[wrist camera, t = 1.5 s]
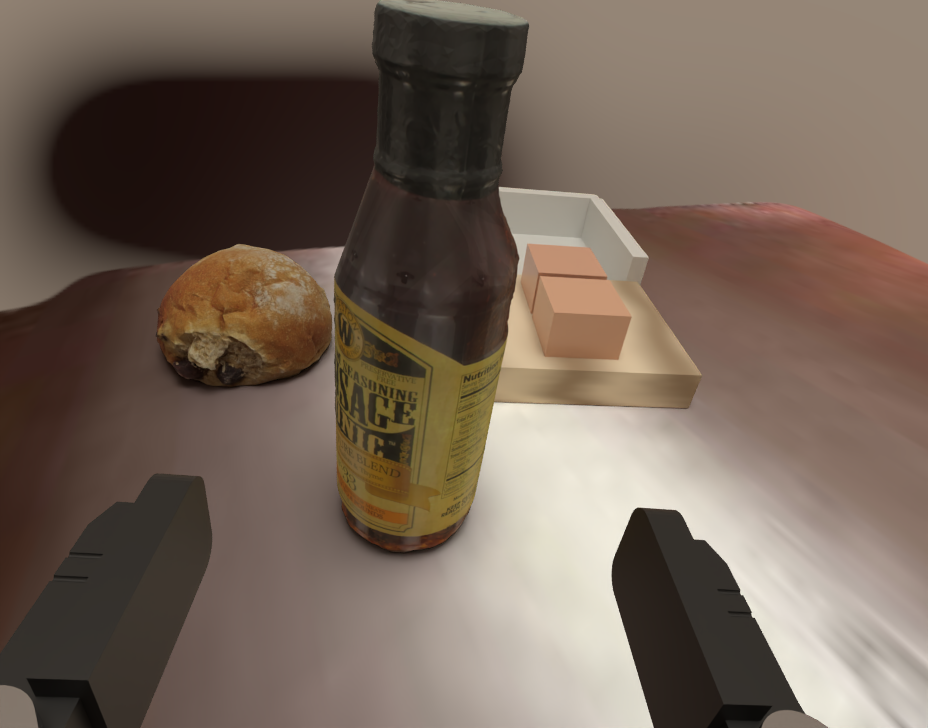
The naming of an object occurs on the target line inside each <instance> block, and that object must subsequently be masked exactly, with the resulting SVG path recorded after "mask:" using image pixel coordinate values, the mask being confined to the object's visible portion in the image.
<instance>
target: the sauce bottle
mask: <svg viewBox="0 0 928 728" xmlns="http://www.w3.org/2000/svg"><path fill="white" fill-rule="evenodd" d="M528 29H529V24H528V22H527V21H526V20H525V19H524V18H521V17H519V16H516V15H513V14H510V13H507V12H505V11H501V10H494V9H489V8H484V7H479V6H474V5H468V4H462V3H452V2H448V1H437V0H380V1H379V3H378V4H377V5H376V8H375V21H374V30H373V42H372V51H373V56H374V59H375V63H376V64H377V66H378V69H379V99H378V110H377V112H378V126H377V146H376V148H375V150H374V157H373V159H374V163H375V165H374V168H373V171H372V173H371V176H370V179H369V182H368V185H367V187H366V190H365V193H364V195H363V198H362V201H361V204H360V207H359V209H358V212H357V215H356V217H355V220H354V223H353V226H352V229H351V231H350V234H349V237H348V239H347V242H346V245H345V248H344V250H343V253H342V256H341V259H340V261H339V264H338V267H337V270H336V272H335V276H334V303H335V316H334V322H335V361H334V364H335V387H336V390H335V394H336V396H335V412H336V451H337V486H338V491H339V494H340V497H341V499H342V510H343V512H344V514H345V517H346V518H347V521H348V524H349V526H350V527H352V528H353V529H354V530H355V531H356V532H357V533H358V534H359V535H361V536H362V537H363V538H364V539H367V540H368V541H370V542H371V543H372V544H376V545H379V546H380V547H381V548H383V549H386V550H389V551H394V552H402V553H403V552H407V551H411V550H421V549H425V548H431V547H434V546H436V545H438V544H441V543H443V542H444V541H445V540H447V539H448V538H449V537H450V536H451V535H452V534H453V533H455V532H456V530H457V529H458V528H459V527H460V526H461V524H462V522H463V521H464V519H465V517H466V515H467V514H468V513H469V510H470V507H471V504H472V502H473V499H474V496H475V492H476V487H477V482H478V478H479V473H480V468H481V464H482V459H483V454H484V450H485V444H486V439H487V434H488V429H489V424H490V419H491V414H492V409H493V404H494V399H495V395H496V390H497V385H498V380H499V375H500V371H501V366H502V361H503V356H504V352H505V347H506V342H507V337H508V319H509V313H510V305H511V300H512V299H513V294H514V292H515V285H516V278H517V270H518V262H519V255H518V251H517V246H516V243H515V240H514V237H513V235H512V233H511V231H510V227H509V225H508V223H507V219H506V217H505V216H504V213H503V210H502V206H501V199H500V196H499V187H498V183H499V182H498V181H499V177H500V176H501V174H502V171H503V170H502V162H501V155H502V146H503V141H504V140H503V139H504V134H505V127H506V121H507V114H508V108H509V103H510V96H511V90H512V87H513V85H514V84H515V83H516V81H517V79H518V77H519V75H520V74H521V73H522V68H523V63H524V58H525V51H526V43H527V34H528Z"/></svg>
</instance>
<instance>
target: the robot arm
mask: <svg viewBox="0 0 928 728" xmlns="http://www.w3.org/2000/svg"><path fill="white" fill-rule="evenodd" d="M211 548H212V530H211V523H210V517H209V510H208V504H207V497H206V491H205V485H204V481H203V479H202V477H200V476H187V475H172V474H154V475H153V476H152V477H151V478H150V479H149V480H148V482H147V483H146V485H145V486H144V488H143V490H142V491H141V493H140V495H139V496H138V498H137V499H136V501H135V503H128V502H116V503H115V504H114V505H112V506H111V507H110V508H109V509H107V510H106V511H105V512H103V513H102V514H101V515H100V516H98V517H97V518H96V519H95V520H93V521H92V522H91V523H89V524H88V526H87V527H86V529H85V530H84V531H83V533H82V534H81V536H80V537H79V539H78V540H77V542H76V543H75V545H74V546H73V548H72V549H71V551H70V554H69V557H68V558H65V559H64V561H63V562H62V564H61V565H60V567H59V568H58V570H57V571H56V573H55V574H54V579H53V581H49V583H48V584H47V586H46V587H45V589H44V590H43V592H42V593H41V595H40V596H39V598H38V599H37V601H36V602H35V603H34V605H33V606H32V608H31V609H30V611H29V612H28V614H27V615H26V617H25V618H24V620H23V621H22V623H21V624H20V625H19V627H18V628H17V630H16V631H15V633H14V634H13V636H12V637H11V639H10V640H9V642H8V643H7V645H6V646H5V648H4V649H3V650H2V652H1V653H0V728H140V727H141V725H142V722H143V720H144V717H145V715H146V713H147V710H148V708H149V705H150V703H151V701H152V698H153V696H154V693H155V691H156V689H157V686H158V684H159V681H160V679H161V677H162V674H163V672H164V669H165V667H166V665H167V662H168V660H169V657H170V655H171V653H172V650H173V648H174V645H175V643H176V641H177V638H178V636H179V633H180V631H181V629H182V626H183V624H184V621H185V619H186V617H187V614H188V612H189V609H190V607H191V605H192V602H193V600H194V597H195V595H196V593H197V590H198V588H199V585H200V583H201V581H202V578H203V576H204V573H205V571H206V568H207V565H208V562H209V558H210V554H211ZM612 586H613V591H614V595H615V598H616V602H617V605H618V608H619V612H620V615H621V618H622V622H623V625H624V628H625V632H626V635H627V639H628V642H629V645H630V649H631V652H632V655H633V659H634V662H635V666H636V669H637V672H638V676H639V679H640V682H641V686H642V689H643V693H644V696H645V699H646V703H647V706H648V709H649V713H650V716H651V719H652V723H653V726H654V728H828V727H827V726H825V725H824V724H822V723H821V722H819V721H818V720H816V719H814V718H812V717H810V716H808V715H806V714H805V713H804V711H803V710H802V708H801V706H800V704H799V703H798V701H797V699H796V697H795V695H794V693H793V691H792V689H791V687H790V685H789V684H788V682H787V680H786V678H785V676H784V674H783V672H782V670H781V668H780V666H779V664H778V662H777V660H776V658H775V656H774V654H773V652H772V651H771V649H770V647H769V645H768V643H767V641H766V639H765V637H764V635H763V633H762V631H761V629H760V627H759V625H758V623H757V621H756V619H755V618H752V616H751V613H752V612H751V610H750V608H749V606H748V604H747V602H746V600H745V598H744V596H743V595H741V594H740V588H739V586H738V585H737V583H736V581H735V579H734V577H733V575H732V573H731V571H730V569H729V567H728V565H727V563H726V562H725V561H724V560H723V559H722V558H721V557H720V556H719V555H718V554H717V553H716V552H715V551H714V550H713V549H712V548H711V546H710V545H709V544H708V543H707V542H706V541H705V540H694V539H693V537H692V535H691V533H690V531H689V529H688V527H687V525H686V522H685V520H684V518H683V517H682V515H681V514H680V513H679V512H678V511H676V510H665V509H650V508H636V509H635V510H634V511H633V513H632V515H631V517H630V520H629V522H628V525H627V527H626V530H625V532H624V535H623V537H622V540H621V542H620V544H619V547H618V549H617V552H616V554H615V557H614V560H613V564H612Z"/></svg>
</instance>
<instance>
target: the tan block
mask: <svg viewBox="0 0 928 728" xmlns="http://www.w3.org/2000/svg"><path fill="white" fill-rule="evenodd" d="M631 318H632V316H631V314H630V313H629V311H628V309H627V308H626V306H625V305H624V303H623V301H622V300H621V298H620V296H619V295H618V293H617V291H616V290H615V288H614V286H613V285H612V283H611V281H610V280H598V279H581V278H564V277H548V276H540V279H539V284H538V289H537V294H536V299H535V305H534V310H533V315H532V319H533V322H534V325H535V328H536V332H537V335H538V338H539V341H540V344H541V347H542V350H543V353H544V356H545V357H562V358H585V359H608V360H618V359H619V356H620V353H621V350H622V347H623V343H624V340H625V337H626V334H627V330H628V327H629V324H630V321H631Z"/></svg>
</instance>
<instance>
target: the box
mask: <svg viewBox="0 0 928 728" xmlns="http://www.w3.org/2000/svg"><path fill="white" fill-rule="evenodd" d="M499 196H500V199H501V206H502V210H503V213H504V216H505V217H506V219H507V223H508V225H509V227H510V231H511V233H512V235H513V237H514V240H515V243H516V246H517V251H518V255H519V262H518V270H517V274H518V275H522V271H523V265H524V260H525V254H526V248H527V244H542V245H557V246H572V247H588V248H591V250H592V252H593V253H594V255H595V257H596V258H597V260H598V262H599V263H600V265H601V267H602V268H603V270H604V272H605V273H606V275H607V276H608V277H607V280H618V281H634V282H638V283H639V285H640V284H641V281H642V278H643V274H644V271H645V268H646V265H647V262H648V258H649V257H648V256H647V255H646V254H645V252H644V251H643V250H642V249H641V247H640V246H639V245H638V243H637V242H636V241H635V240H634V238H633V237H632V236H631V234H630V233H629V232H628V231H627V229H626V228H625V227H624V226H623V224H622V223H621V222H620V220H619V219H618V218H617V217H616V215H615V214H614V213H613V212H612V210H611V209H610V208H609V206H608V205H607V204H606V203H605V201H604V200H603V199H599V197H598V196H597V195H593V194H581V193H569V192H556V191H543V190H530V189H517V188H504V187H499Z"/></svg>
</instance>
